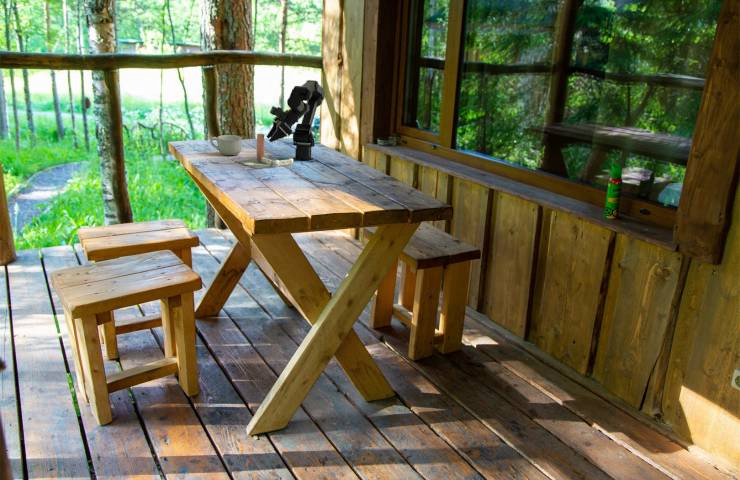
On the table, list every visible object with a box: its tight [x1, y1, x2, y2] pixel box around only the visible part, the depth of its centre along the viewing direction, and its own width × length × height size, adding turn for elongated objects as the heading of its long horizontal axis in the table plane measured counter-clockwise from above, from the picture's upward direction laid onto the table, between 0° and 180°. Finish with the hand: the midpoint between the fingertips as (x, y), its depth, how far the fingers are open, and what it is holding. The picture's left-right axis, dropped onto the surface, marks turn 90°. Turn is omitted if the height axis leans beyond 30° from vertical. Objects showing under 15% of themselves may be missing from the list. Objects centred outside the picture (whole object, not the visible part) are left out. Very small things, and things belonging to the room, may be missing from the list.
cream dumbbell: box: [274, 158, 294, 168], centre depth 253 cm, size 9×2×2 cm, turn 135°
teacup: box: [209, 134, 243, 156], centre depth 268 cm, size 14×11×8 cm
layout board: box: [234, 157, 291, 170], centre depth 255 cm, size 19×17×1 cm
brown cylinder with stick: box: [256, 133, 275, 165], centre depth 251 cm, size 12×3×11 cm, turn 40°
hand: (268, 139), depth 254 cm, fingers open, 9 cm apart
